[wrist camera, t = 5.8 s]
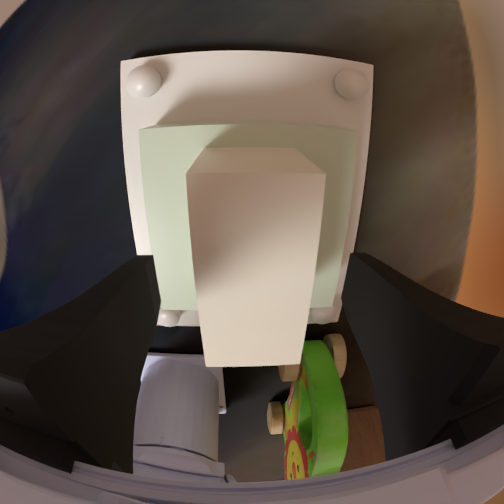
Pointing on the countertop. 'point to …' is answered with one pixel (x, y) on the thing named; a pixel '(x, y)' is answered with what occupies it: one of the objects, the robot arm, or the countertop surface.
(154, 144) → the white studded slab
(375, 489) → the robot arm
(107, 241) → the countertop surface
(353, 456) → the block
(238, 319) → the cream brick
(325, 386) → the toy lion
